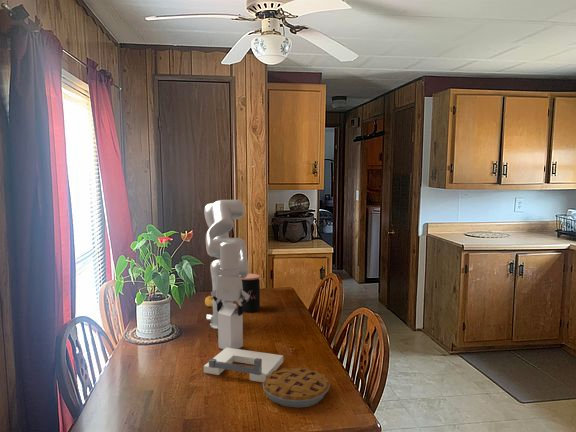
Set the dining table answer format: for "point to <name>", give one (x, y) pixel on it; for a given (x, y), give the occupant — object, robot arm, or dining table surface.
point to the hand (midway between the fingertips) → (230, 313)
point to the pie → (296, 387)
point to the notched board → (247, 362)
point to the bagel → (209, 301)
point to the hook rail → (238, 366)
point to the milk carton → (230, 327)
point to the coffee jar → (251, 292)
